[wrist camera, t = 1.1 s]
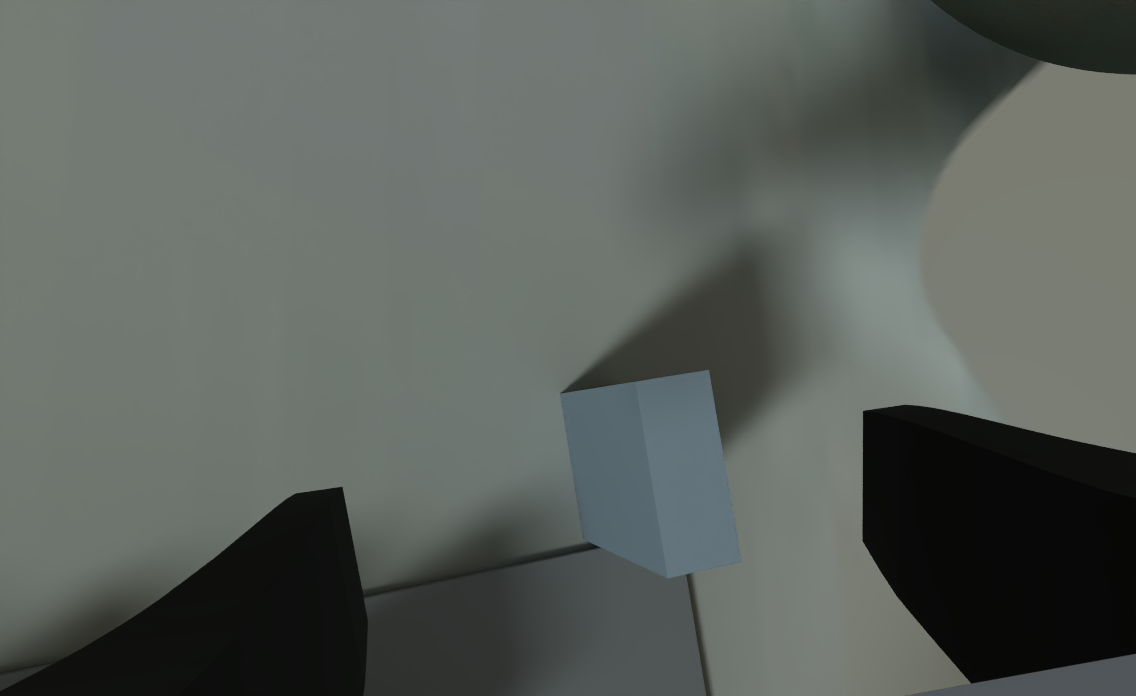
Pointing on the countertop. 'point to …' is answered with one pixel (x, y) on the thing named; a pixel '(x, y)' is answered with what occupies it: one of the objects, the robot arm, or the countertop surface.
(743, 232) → the countertop surface
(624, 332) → the countertop surface
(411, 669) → the runner mat
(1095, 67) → the flask
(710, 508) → the tile
